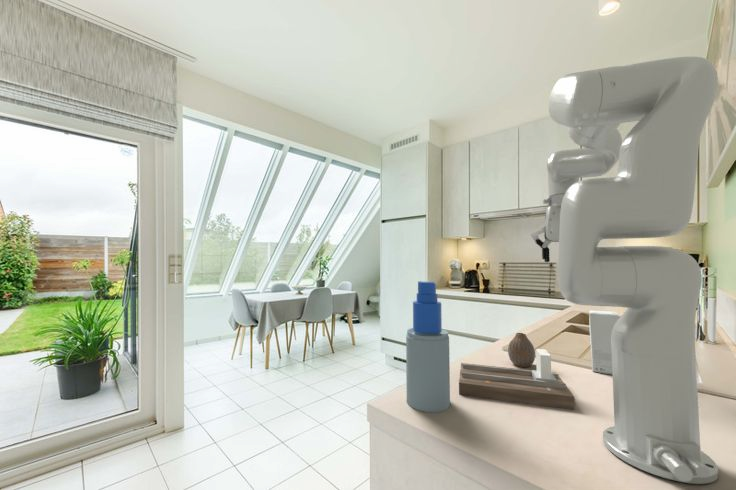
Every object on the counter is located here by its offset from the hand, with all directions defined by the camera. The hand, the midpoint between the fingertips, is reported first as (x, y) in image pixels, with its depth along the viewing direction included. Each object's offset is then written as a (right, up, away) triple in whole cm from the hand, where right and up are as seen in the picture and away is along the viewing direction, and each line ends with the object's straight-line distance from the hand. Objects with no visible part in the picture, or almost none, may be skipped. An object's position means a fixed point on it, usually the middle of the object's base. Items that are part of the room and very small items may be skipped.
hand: (566, 262), depth 88 cm
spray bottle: (-44, -28, -23) cm, 57 cm away
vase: (-13, -29, 0) cm, 32 cm away
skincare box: (+8, -29, -4) cm, 31 cm away
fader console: (-23, -28, -16) cm, 40 cm away
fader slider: (-17, -26, -18) cm, 36 cm away
